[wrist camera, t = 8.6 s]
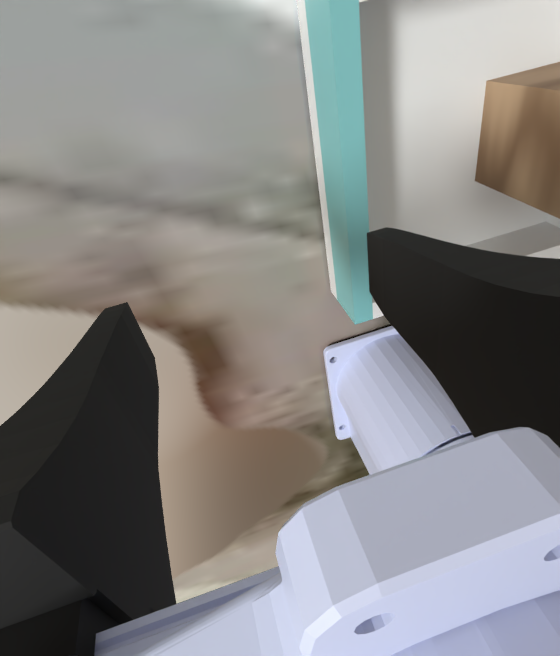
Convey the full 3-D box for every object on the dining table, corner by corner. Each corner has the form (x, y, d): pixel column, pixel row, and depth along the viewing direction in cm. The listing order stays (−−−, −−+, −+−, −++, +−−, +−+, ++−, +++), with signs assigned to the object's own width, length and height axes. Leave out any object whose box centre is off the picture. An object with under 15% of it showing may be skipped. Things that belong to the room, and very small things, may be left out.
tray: (544, 226, 25) (592, 249, 22) (331, 291, 24) (355, 324, 21) (619, -92, 17) (713, -117, 14) (293, -20, 15) (326, -32, 12)
